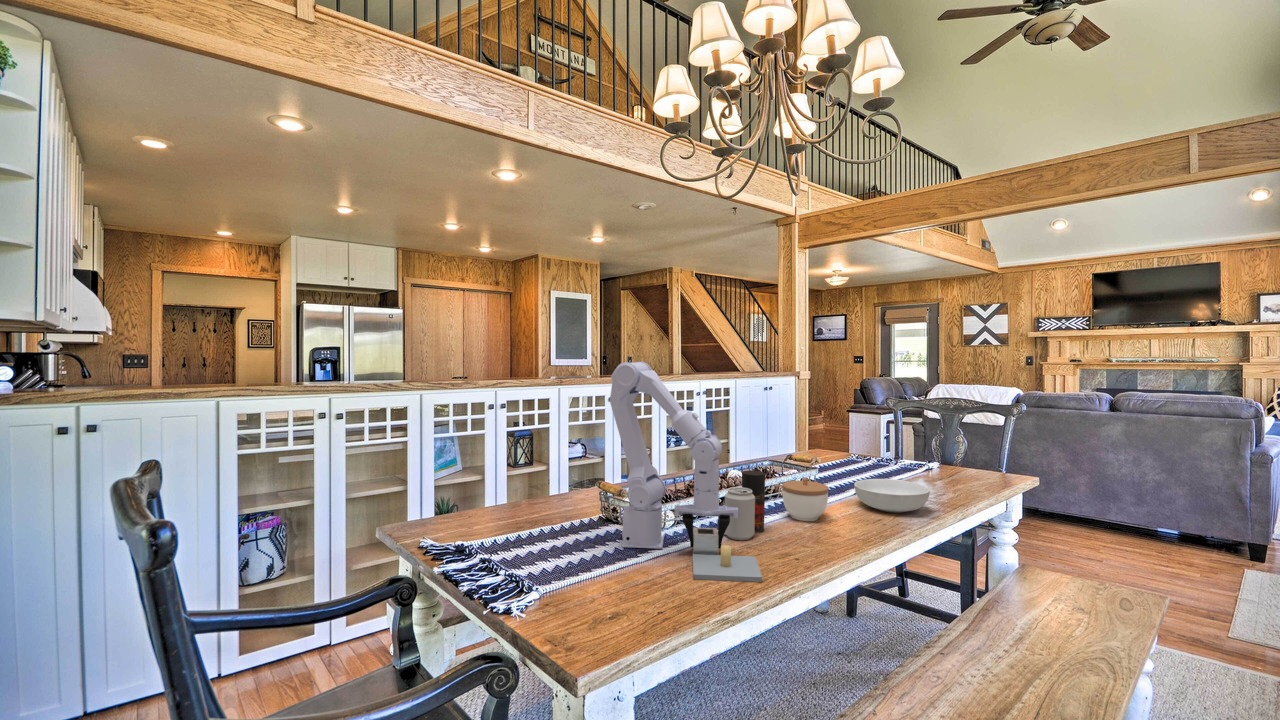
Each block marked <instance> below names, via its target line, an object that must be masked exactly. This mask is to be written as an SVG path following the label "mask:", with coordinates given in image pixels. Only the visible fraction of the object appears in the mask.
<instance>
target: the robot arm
mask: <svg viewBox="0 0 1280 720" xmlns="http://www.w3.org/2000/svg"><path fill="white" fill-rule="evenodd" d="M610 379H611V382H612V383H611V390H610V395H609V402H610V407H611V411H612V414H613V417H614V420H615V424H616V428H617V431H618V435H619V437H620V440H621V445H622V448H623V452H624V455H625V458H626V461H627V465H628V468H629V473H628V475H627V478H626V479H627V486H628V492H627V497H628V498H627V499H628V501H629V503H630V504H631V505H627V506H624V507H623V513H622V531H621V535H622V547H623V548H629V549H630V548H631V549H632V548H633V549H635V548H637V549H656V550H657V549H659V550H660V549H663V545H664V536H663V535H662V532H663V531H662V528H663V527H662V525H663V524H662V521H663V519H662V517H663V504H662V499H663V498H664V497H665V495H666V490H667V488H666V484H665V481H664V480H663V479H662V478H661V477H660V475H659V472H658V469H657V468H656V467H655V466H654V465H653V464H652V462H651V460H650V456H649V452H648V449H647V445H646V443H645V439H644V436H643V432H642V429H641V426H640V422H639V419H638V415H637V413H636V412H637V411H636V408H635V405H634V401H635V400H636V399H637V397H638V395H639V393H643V394H646V395H647V394H648V395H649V396H651V397H652V399H653V400H654V401H655V402H656V403H657V404H658V405H659V406H660V407H661V409H663V411H664V412H666V414H667V415H668V416H669V417H670V419H671V426H672V429H674V431H675V432H676V434H678V435H679V437H680V438H681V439H682V441H684V443H685V444H686V446H688V447H689V448H690V454H691V457H692V459H693V460H694V471H693V472H694V473H693V474H694V475H693V477H694V478H693V479H694V481H693V482H694V483H693V484H694V485H693V504H683V505H680V504H679V505H677V504H676V505H674V516H675V517H677V516H681V517H682V522H683V525H684V526H685V529H686V532H687V535H688V538H689V544H690V548H692V549H693V527H694V516H697V517H698V516H700V517H703V516H704V517H717V520H718V521H717V530H718V536H719V537H718V550H721V546H722V542H723V539H724V536H725V535H726V534H725V531H726V529H727V527H728V525H729V523H730V517H733V518H738V508H737V507H727V506H725V505H719V503H720V502H719V499H720V497H719V495H720V494H719V493H720V488H719V487H720V458H719V457H720V455H721V454H722V452H723V443H722V442H721V440H720V438H719V437H718V436H717V435H715V434H712V432H711V430H709V429H706V427H705V426H704V425H703V424H702V423H701V421H700V420H699V419H698V418H699V415H698V414H697V413H696V412H694V413H693V412H692V411H691V410H686V409H683V408H682V406H681V405H680V404H679V402H678V401H677V400H676V398H675V397H674V396H673V394H672V393H671V391H669V389H668V388H667V386H666V385H665V384H664V382H663V381H662V380H661V379H660V376H659V375H658V374H657V372H656V371H655V370H654V369H652V368H651V366H650V365H649V364H648V363H647V362H645V361H636V362H635V361H634V362H627V361H626V362H621V363H619V364H618V365H617V366H616V368H614V371H613V372H612V374H611V375H610Z"/></svg>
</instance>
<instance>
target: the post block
mask: <svg viewBox="0 0 1280 720" xmlns="http://www.w3.org/2000/svg"><path fill="white" fill-rule="evenodd" d="M692 574H693V575H692V576H693V577H692V578H693V580H701V581H702V580H703V581H705V580H706V581H727V582H729V581H730V582H732V581H733V582H750V583H751V582H752V583H753V582H754V583H763V575H762V572H761V569H760V566H759V563H758V561H757V557H756V556H751V555H732V546H731V545H728V544H721V549H720V554H718V555H704V554H693V553H692Z"/></svg>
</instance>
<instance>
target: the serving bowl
mask: <svg viewBox="0 0 1280 720" xmlns="http://www.w3.org/2000/svg"><path fill="white" fill-rule="evenodd" d="M853 487H854V492H855V494H856V496H857V498H858V499H859V500H860V501H861V503H863V504H865V506H868V507H871V508H874V509H876V510H879V511H882V512H887V513H899V514H900V513H905V512H912V511H915V510H918V509H921V508H922V507H923V506H925V505H926V503H927V502H928V501H929V499H930V498H929V497H930V494H931V489H930V488H929V487H927V486H925V485H923V484H920V483H917V482H913V481H907V480H902V479H901V480H900V479H892V478H891V479H889V478H869V479H868V478H867V479H860V480H857V481H855V482H854V484H853Z"/></svg>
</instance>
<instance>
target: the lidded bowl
mask: <svg viewBox="0 0 1280 720" xmlns="http://www.w3.org/2000/svg"><path fill="white" fill-rule="evenodd" d="M781 486H782V488H781V489H782V500H783V501H782V502H783V504H784V508H785V510H786V512H787V513H788V514H790V517H791V518H792V519H793V520H796V521H801V522H815V521H818V519H819V518H820V517H821V516H822V515H823V514H824V513H825V510H826V509H827V507H828V499H829V489H830V488H829V486H828V485H827V484H824V483H821V482H818V481H817V482H816V481H810V480H808V478H806V477H805V478H802V480H787V481H785V482H783V483H782V485H781Z"/></svg>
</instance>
